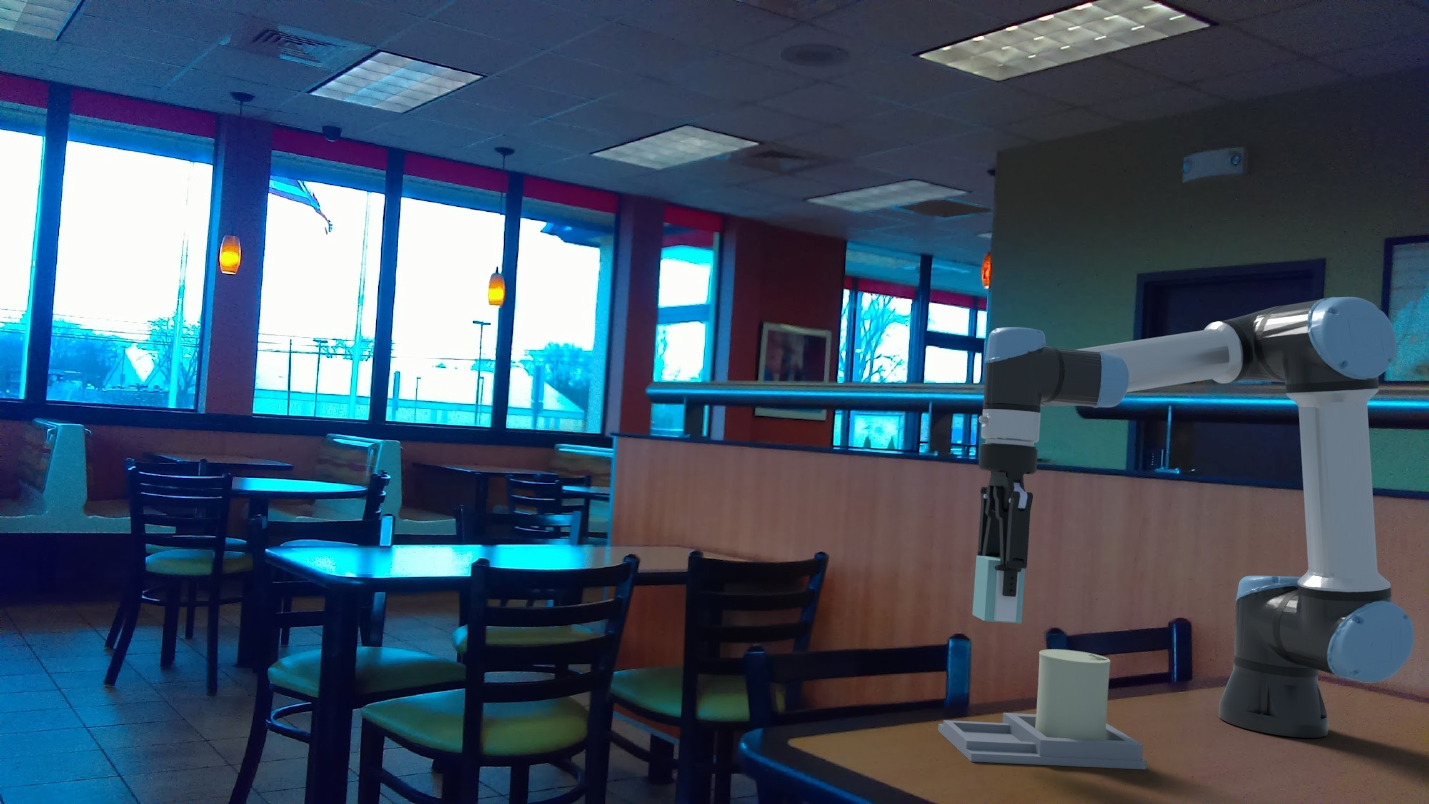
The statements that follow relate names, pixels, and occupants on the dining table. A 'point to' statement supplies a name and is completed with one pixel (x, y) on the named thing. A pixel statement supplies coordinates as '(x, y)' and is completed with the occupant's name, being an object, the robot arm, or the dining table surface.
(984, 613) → the block
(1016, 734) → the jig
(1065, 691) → the can
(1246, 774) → the dining table surface
